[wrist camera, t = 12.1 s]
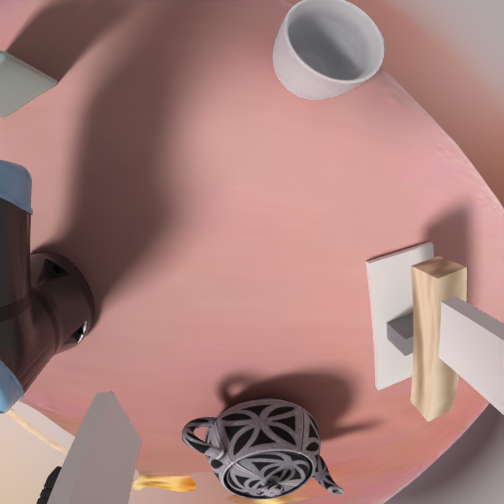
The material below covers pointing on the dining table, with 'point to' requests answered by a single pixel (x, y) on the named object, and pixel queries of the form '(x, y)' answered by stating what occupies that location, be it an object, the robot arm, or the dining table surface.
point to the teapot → (262, 448)
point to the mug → (326, 49)
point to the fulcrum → (393, 312)
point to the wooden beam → (433, 334)
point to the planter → (20, 83)
